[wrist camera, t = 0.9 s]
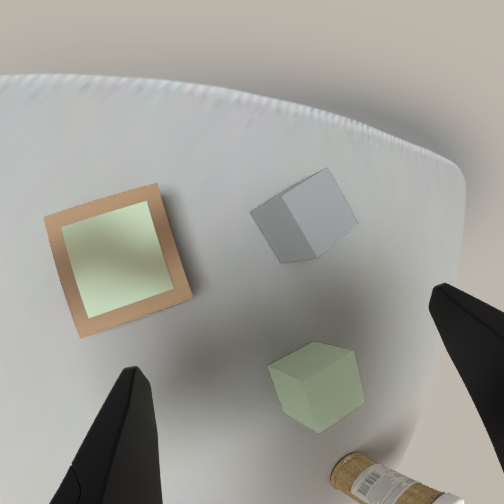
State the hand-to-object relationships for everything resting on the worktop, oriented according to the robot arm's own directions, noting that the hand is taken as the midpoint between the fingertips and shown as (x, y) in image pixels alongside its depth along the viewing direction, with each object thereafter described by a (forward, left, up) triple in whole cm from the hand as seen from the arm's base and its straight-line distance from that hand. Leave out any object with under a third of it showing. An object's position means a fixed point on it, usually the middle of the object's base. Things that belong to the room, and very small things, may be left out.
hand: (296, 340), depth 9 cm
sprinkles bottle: (-22, -8, -14) cm, 27 cm away
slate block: (+3, -9, -14) cm, 17 cm away
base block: (+4, +4, -14) cm, 15 cm away
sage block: (-9, -6, -14) cm, 18 cm away
